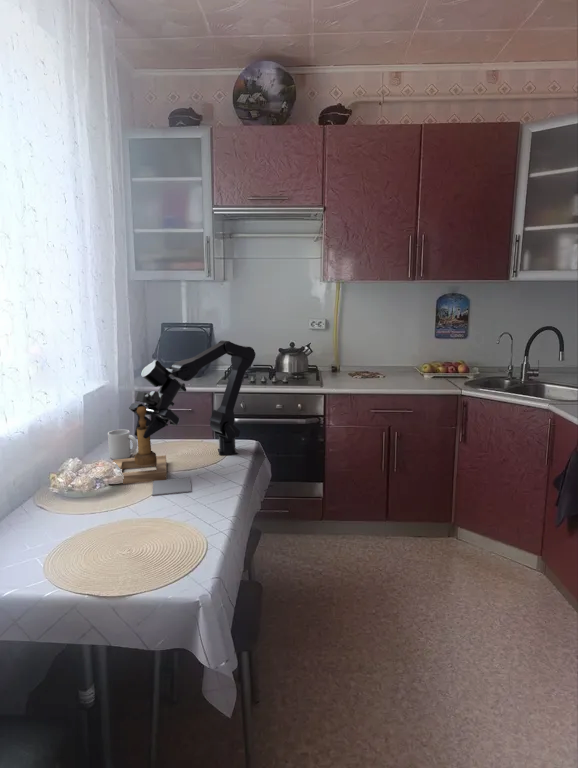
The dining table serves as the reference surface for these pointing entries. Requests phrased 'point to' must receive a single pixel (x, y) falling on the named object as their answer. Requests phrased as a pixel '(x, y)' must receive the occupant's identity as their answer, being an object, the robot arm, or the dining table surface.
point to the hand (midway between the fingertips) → (140, 436)
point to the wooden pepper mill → (143, 441)
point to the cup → (121, 444)
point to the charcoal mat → (171, 486)
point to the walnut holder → (143, 475)
